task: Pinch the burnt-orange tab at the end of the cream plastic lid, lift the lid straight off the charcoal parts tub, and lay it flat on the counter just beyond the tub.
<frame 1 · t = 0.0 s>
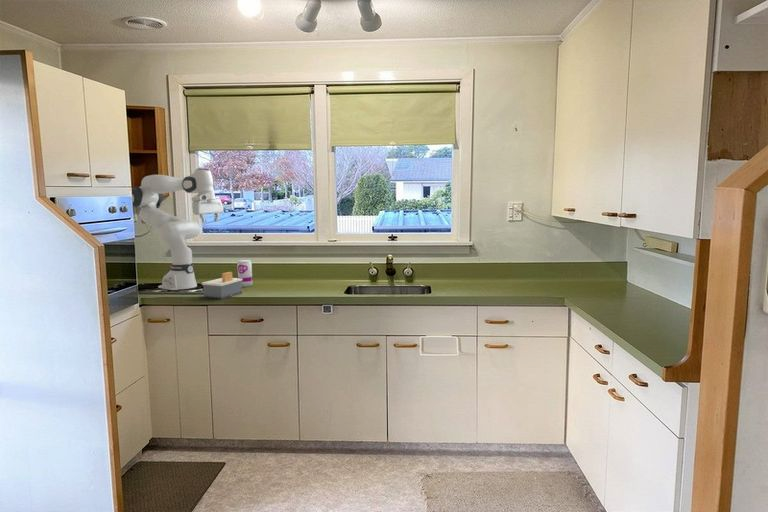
hand: (210, 221, 279), 39 cm above the worktop, tool pointing down, fingers open, 8 cm apart
tub: (223, 295, 269), on the worktop
lid: (222, 282, 268), point 7 cm above the worktop, touching tub
supplement can: (245, 285, 295), on the worktop
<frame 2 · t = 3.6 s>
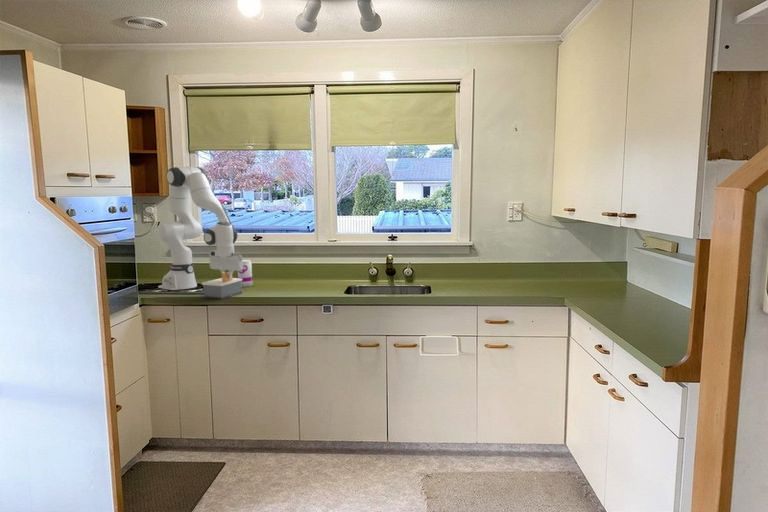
hand: (227, 278, 266), 10 cm above the worktop, tool pointing down, fingers closed on lid
lid: (222, 282, 268), point 7 cm above the worktop, touching gripper, tub
everything else where it was.
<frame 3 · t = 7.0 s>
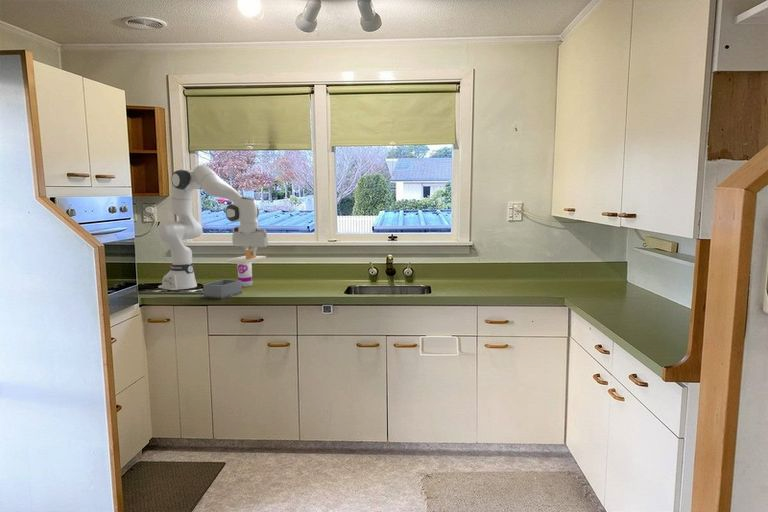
hand: (250, 255, 258), 23 cm above the worktop, tool pointing down, fingers closed on lid
lid: (245, 259, 260), point 20 cm above the worktop, touching gripper
everything else where it was.
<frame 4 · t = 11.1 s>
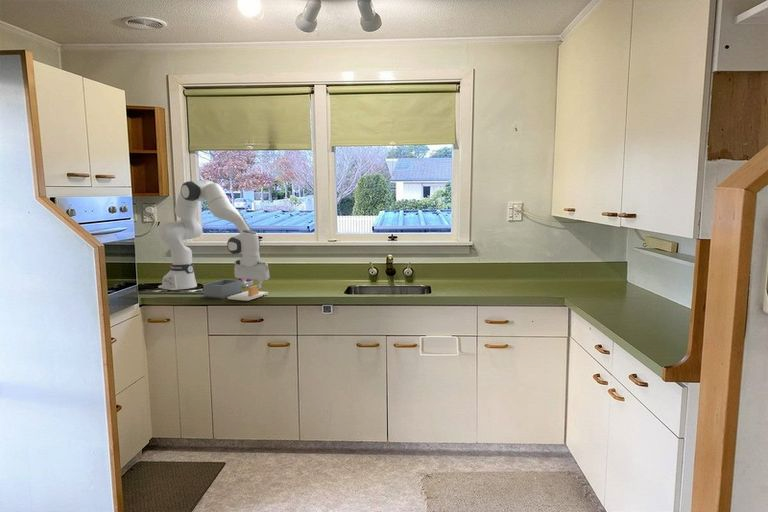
hand: (252, 287, 260), 6 cm above the worktop, tool pointing down, fingers open, 7 cm apart
lid: (248, 296, 262), point 1 cm above the worktop
everything else where it was.
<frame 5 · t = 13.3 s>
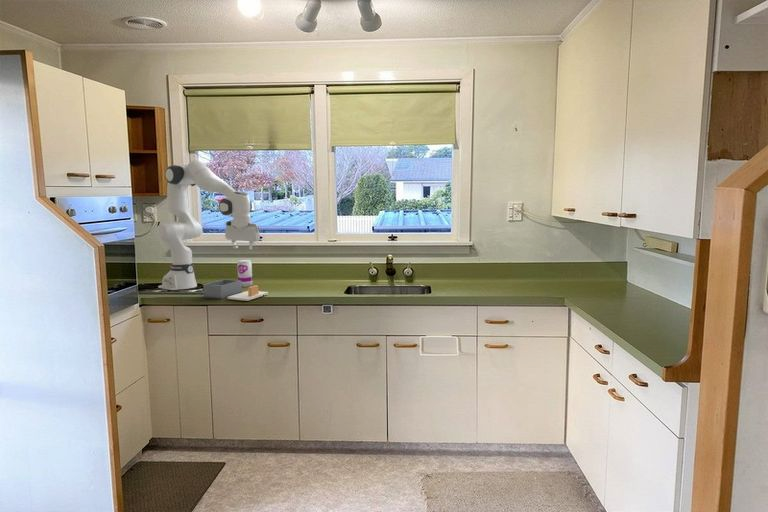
hand: (242, 248, 263), 25 cm above the worktop, tool pointing down, fingers open, 8 cm apart
nothing on the worktop moved.
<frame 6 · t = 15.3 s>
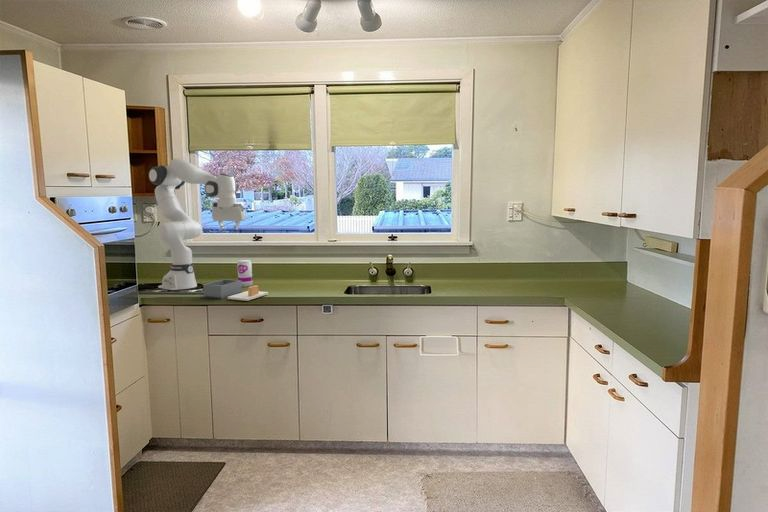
hand: (229, 229, 271), 35 cm above the worktop, tool pointing down, fingers open, 8 cm apart
nothing on the worktop moved.
at the end: lid inside the target area (0.1 cm from its centre), point 0.6 cm above the worktop; lid tilted 0°; the gripper is holding nothing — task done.
